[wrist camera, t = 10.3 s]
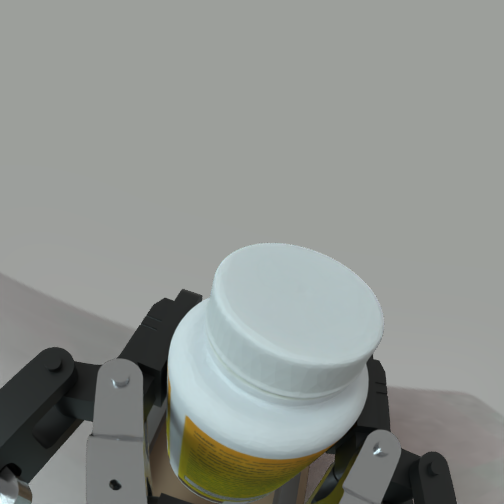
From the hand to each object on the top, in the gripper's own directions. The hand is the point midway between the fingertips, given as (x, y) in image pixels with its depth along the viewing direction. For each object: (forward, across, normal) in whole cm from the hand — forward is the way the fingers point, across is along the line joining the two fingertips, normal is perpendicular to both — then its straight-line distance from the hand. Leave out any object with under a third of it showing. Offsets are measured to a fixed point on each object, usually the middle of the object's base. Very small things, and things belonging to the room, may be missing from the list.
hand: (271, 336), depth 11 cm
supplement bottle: (-3, 0, +6) cm, 7 cm away
